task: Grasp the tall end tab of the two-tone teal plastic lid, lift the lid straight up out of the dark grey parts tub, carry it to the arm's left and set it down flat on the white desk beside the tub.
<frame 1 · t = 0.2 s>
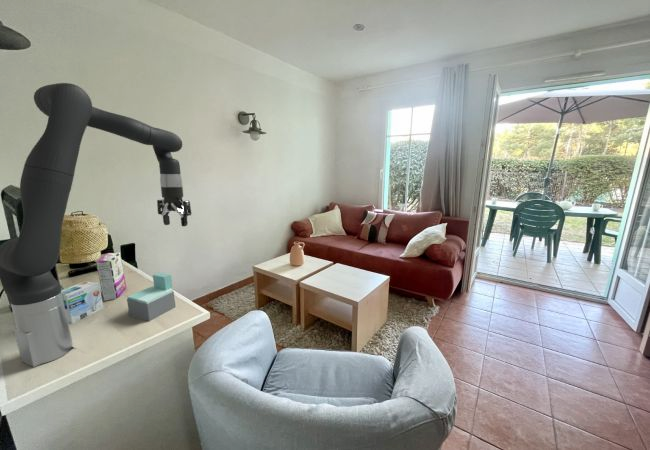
hand: (175, 225, 108), 28 cm above the table, fingers open, 8 cm apart
wood block b: (154, 307, 97), point 1 cm above the table, touching tub
tub: (153, 313, 95), on the table
candy bar box: (115, 294, 109), on the table
lid: (151, 297, 93), point 6 cm above the table, touching tub
light bulb box: (82, 316, 92), on the table
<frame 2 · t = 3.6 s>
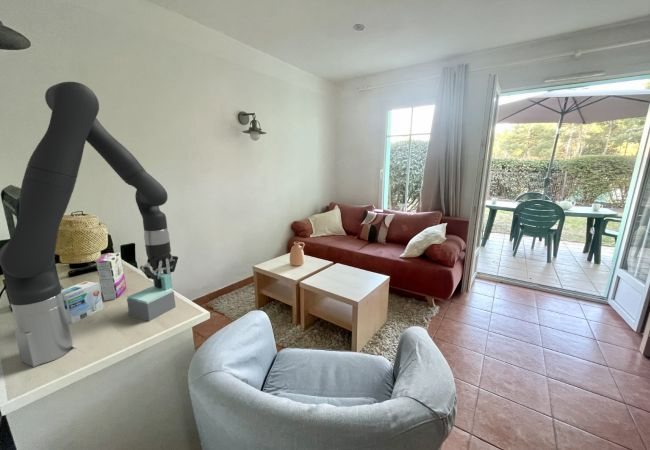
hand: (163, 286, 97), 8 cm above the table, fingers closed on lid, 2 cm apart
lid: (151, 297, 93), point 6 cm above the table, touching gripper
everything else where it was.
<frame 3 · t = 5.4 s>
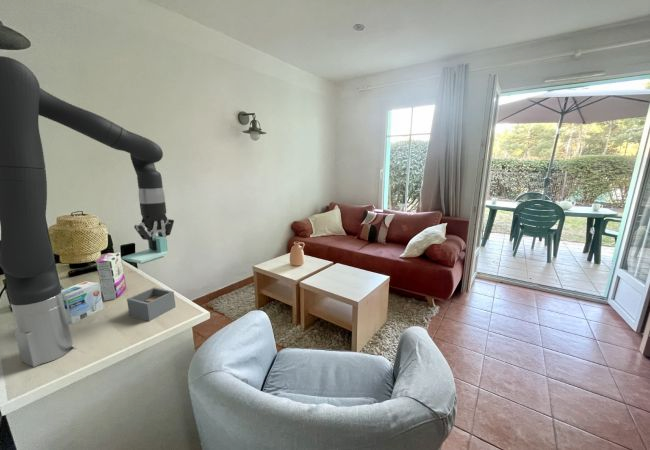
hand: (158, 248, 94), 23 cm above the table, fingers closed on lid, 2 cm apart
lid: (145, 258, 90), point 21 cm above the table, touching gripper
everything else where it was.
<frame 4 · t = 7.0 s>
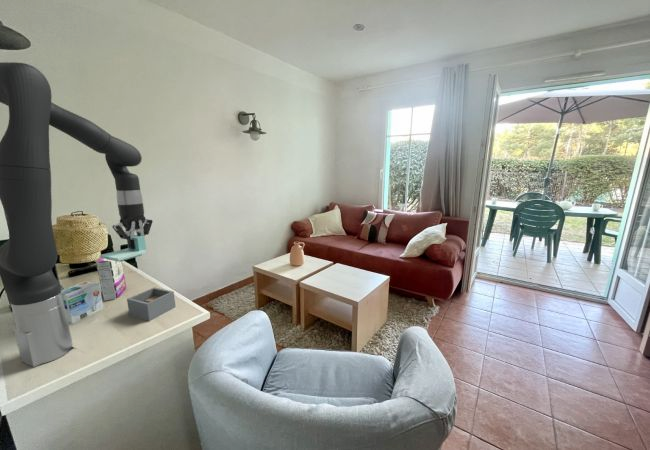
hand: (137, 247, 100), 22 cm above the table, fingers closed on lid, 2 cm apart
lid: (124, 257, 96), point 19 cm above the table, touching gripper
everything else where it was.
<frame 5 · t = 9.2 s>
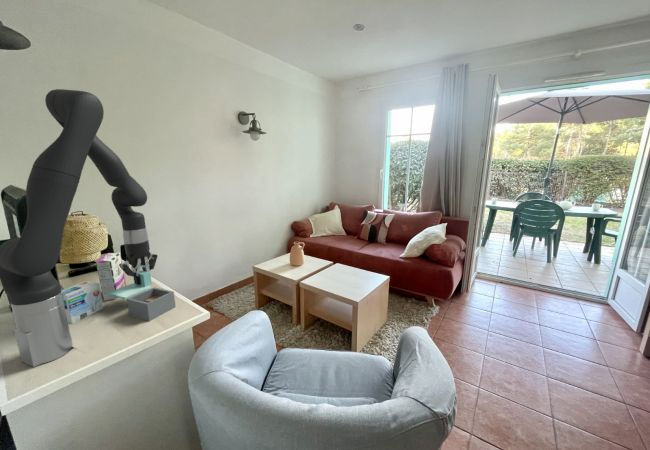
hand: (142, 282, 103), 7 cm above the table, fingers closed on lid, 2 cm apart
lid: (130, 293, 99), point 5 cm above the table, touching gripper
everything else where it was.
when the fingers open (4 cm above the table, at t = 10.8 s): lid drops 2 cm, on the table.
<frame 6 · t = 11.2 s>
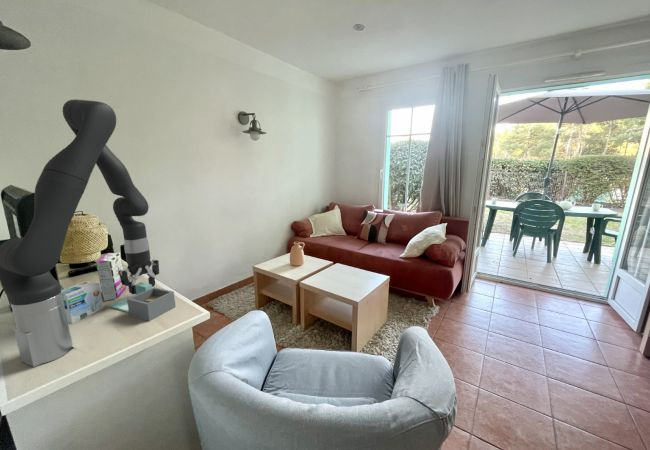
hand: (143, 289, 103), 4 cm above the table, fingers open, 6 cm apart
lid: (132, 305, 100), on the table
everything else where it was.
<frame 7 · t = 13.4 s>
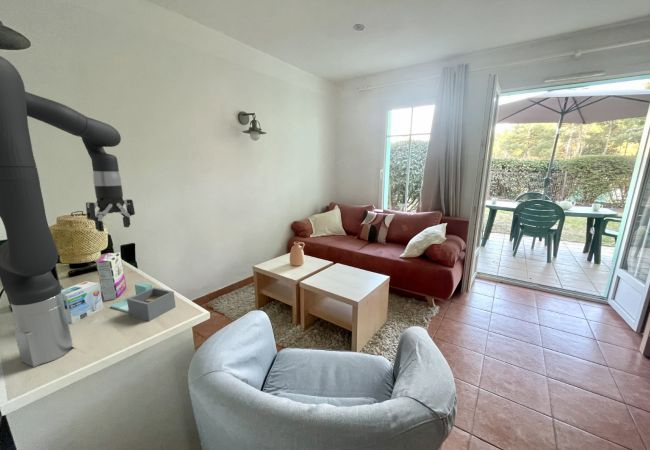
hand: (114, 229, 96), 29 cm above the table, fingers open, 8 cm apart
nothing on the table moved.
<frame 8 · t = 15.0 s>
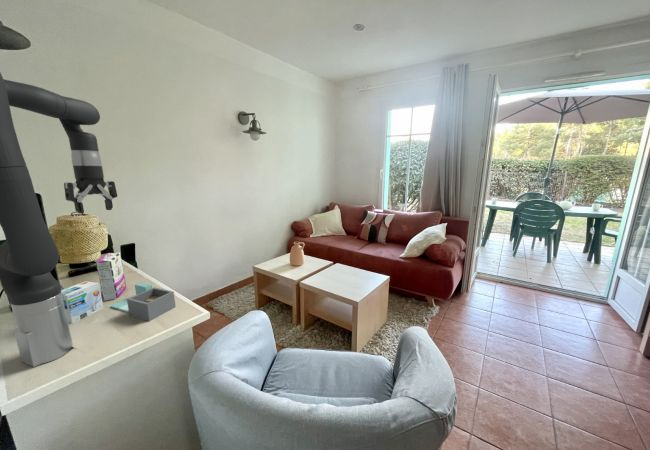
hand: (95, 211, 93), 36 cm above the table, fingers open, 8 cm apart
nothing on the table moved.
at the end: lid inside the target area (0.7 cm from its centre), on the table; lid tilted 0°; the gripper is holding nothing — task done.
